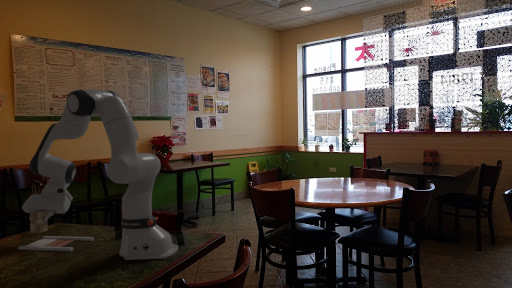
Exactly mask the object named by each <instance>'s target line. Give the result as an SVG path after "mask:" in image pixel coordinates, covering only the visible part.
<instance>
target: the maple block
mask: <svg viewBox="0 0 512 288" xmlns="http://www.w3.org/2000/svg"><path fill="white" fill-rule="evenodd" d="M47 214H48V213H47V211H35V212H32V213H29V218H30V220H29V225H30V233H31V234H41V233H43V232H46V231H48V228H49V225H48V220H47V221H42V218H43V216H46V215H47Z"/></svg>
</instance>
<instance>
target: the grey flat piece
mask: <svg viewBox="0 0 512 288" xmlns="http://www.w3.org/2000/svg"><path fill="white" fill-rule="evenodd" d="M94 240H95V239H94V236H61V235H58V236H57V235H56V236H53V235H44V236H42V238H41V239H38V240H36V241H34V242H32V243H29V244H26V245H20V246H18V248H17V250H20V251H21V250H22V251H48V252H49V251H50V252H54V251H55V252H73V251H74V247H71V246H69V247H68V246H67V245H68V244H70V243H71V244H72V243H73V242H76V241H87V242H90V241H91V242H93V241H94ZM64 246H65V247H64Z"/></svg>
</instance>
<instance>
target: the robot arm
mask: <svg viewBox="0 0 512 288" xmlns="http://www.w3.org/2000/svg"><path fill="white" fill-rule="evenodd" d="M66 98H67V99H66V104H65V105H64V108H63V111H62V114H61V116H60V119H59V121H58V122H56V123H55V122H54V123H52V124H51V125H50V126H49V127H48V128H47V130H46V132H45V133H44V136H43V137H42V139H41V141H40V143H39V145H38V148H37V149H36V151H35V153H34V154H33V156H32V158H31V159H30V161H29V164H28V168H29V170H30V172H31V173H32V174H33V175H37V176H43V177H46V178H49V181H48V182H47V183H46V184H45V185H44V188H43V189H42V191H41V193H34V194H32V195H30V196H29V197H28V198H27V199H26V200H25V202H24V203H23V205H22V206H21V209H22V211H24V213H28V214H30V213H32V212H35V211H47V215H46V216H43V218H42V221H47V222H48V221H49V219H50V218H52V217H53V215H54V214H66V213H67V212H68V211H69V208H70V207H71V203H72V202H71V201H73V199H74V197H73V196H72V195H71V193H70V192H69V191H68V190H67V188H68V187H69V186H70V185H71V183H72V182H73V181H74V178H75V177H76V175H77V172H78V171H77V166H76V165H75V163H74V162H73V161H70V160H67V159H64V158H60V157H57V156H55V155H51V153H49V151H50V149H51V148H52V146H53V143H54V142H55V141H57V140H58V141H59V140H60V141H61V140H69V141H70V140H76V139H79V138H81V137H83V136H85V134H86V133H87V131H88V129H89V125H90V122H91V119H92V117H96V118H98V117H99V118H100V119H101V122H102V125H103V128H104V130H105V132H106V136H107V138H108V141H109V144H110V151H111V153H110V155H111V156H110V159H109V162H108V165H107V168H106V169H107V170H106V172H107V175H108V178H109V179H110V181H112V182H113V183H115V184H121V185H122V184H124V185H125V184H126V185H128V186H127V189H126V191H125V193H124V194H123V195H122V198H121V209H122V211H121V213H122V217H121V219H120V220H121V231H122V237H121V245H120V250H119V253H118V254H119V256H120V257H122V258H123V259H124V260H125V261H129V260H130V261H131V260H132V261H134V260H138V261H139V260H156V259H157V260H159V259H167V258H169V257H171V256H173V255H175V254H176V253H177V252H178V251H179V246H178V245H177V244H174V243H173V239H172V236H171V234H170V233H169V232H168V231H166V230H165V229H164V228H162V227H161V226H160V225H158V224H157V220H158V219H159V216H156V217H155V216H154V215H153V213H152V212H153V211H152V207H153V206H152V198H153V189H154V185H155V181H156V178H157V175H158V174H159V173H160V171H161V168H162V164H161V160H160V158H159V157H158V156H157V155H155V154H153V153H150V152H140V153H139V152H138V149H137V141H138V140H139V133H138V130H137V128H136V125H135V122H134V120H133V117H132V114H131V113H130V110H129V109H128V106H127V105H126V103H125V101H124V100H123V99H122V97H121V96H120V95H119V94H118V93H117V92H115V91H112V90H101V89H77V90H72V91H71V92H70V93H68V95H67V97H66ZM28 220H29V221H30V217H29V219H28Z"/></svg>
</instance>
